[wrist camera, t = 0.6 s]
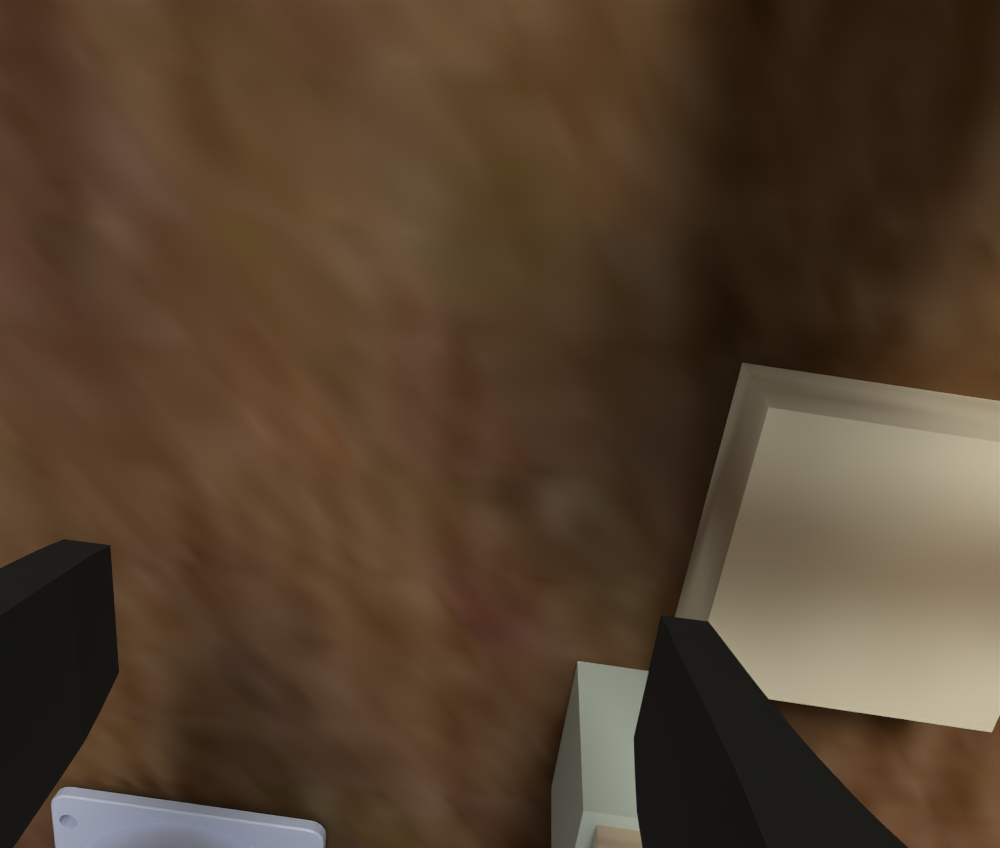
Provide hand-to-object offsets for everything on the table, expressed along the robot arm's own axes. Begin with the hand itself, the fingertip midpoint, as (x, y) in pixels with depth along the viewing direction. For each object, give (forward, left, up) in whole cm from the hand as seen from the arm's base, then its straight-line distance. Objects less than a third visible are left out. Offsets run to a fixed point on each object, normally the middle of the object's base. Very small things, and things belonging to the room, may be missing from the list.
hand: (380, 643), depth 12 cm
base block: (-2, -10, -10) cm, 14 cm away
